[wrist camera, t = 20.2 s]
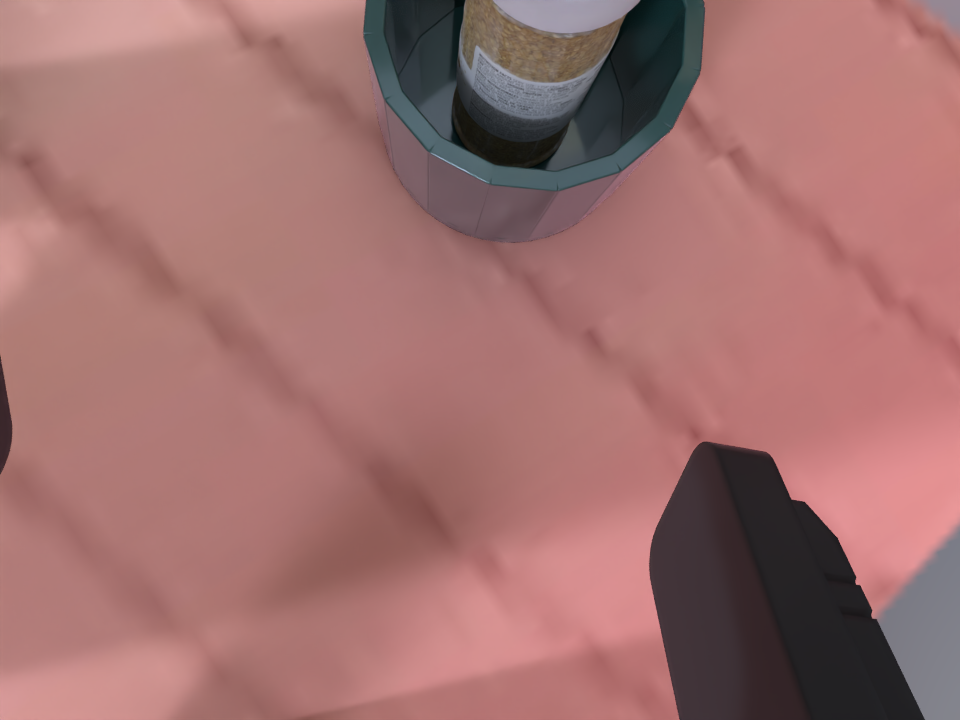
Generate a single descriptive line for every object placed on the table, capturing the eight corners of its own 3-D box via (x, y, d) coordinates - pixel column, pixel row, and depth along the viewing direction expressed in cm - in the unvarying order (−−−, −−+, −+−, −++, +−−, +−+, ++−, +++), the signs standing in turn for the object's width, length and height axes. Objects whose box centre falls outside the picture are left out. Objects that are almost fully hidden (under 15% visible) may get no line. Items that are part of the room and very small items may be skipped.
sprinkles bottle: (483, 35, 30) (531, -261, 16) (590, 91, 30) (724, -156, 16) (429, 140, 29) (431, -73, 16) (537, 196, 30) (628, 33, 16)
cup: (328, 99, 30) (293, -8, 22) (521, -56, 31) (554, -213, 23) (494, 294, 30) (518, 259, 22) (682, 135, 31) (771, 45, 23)
